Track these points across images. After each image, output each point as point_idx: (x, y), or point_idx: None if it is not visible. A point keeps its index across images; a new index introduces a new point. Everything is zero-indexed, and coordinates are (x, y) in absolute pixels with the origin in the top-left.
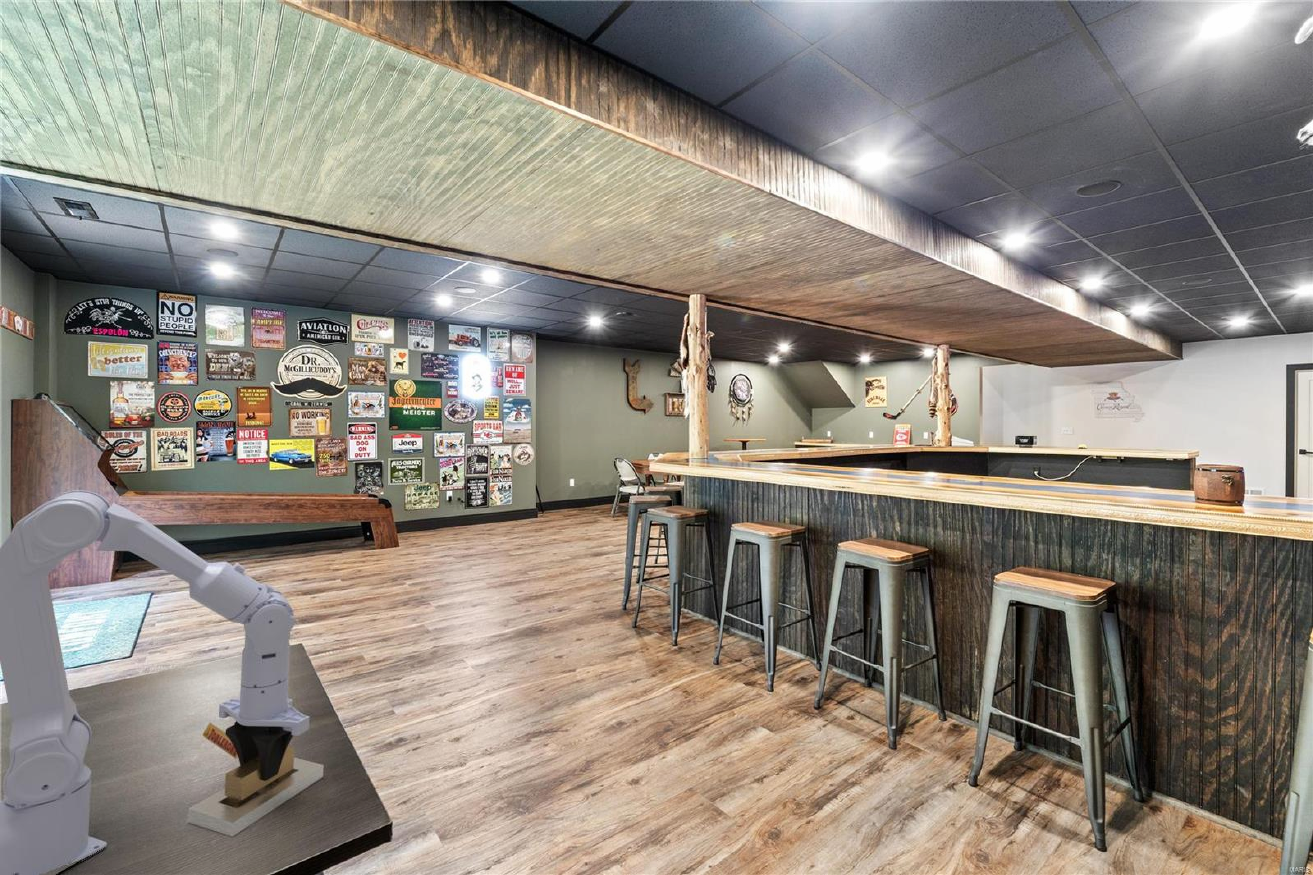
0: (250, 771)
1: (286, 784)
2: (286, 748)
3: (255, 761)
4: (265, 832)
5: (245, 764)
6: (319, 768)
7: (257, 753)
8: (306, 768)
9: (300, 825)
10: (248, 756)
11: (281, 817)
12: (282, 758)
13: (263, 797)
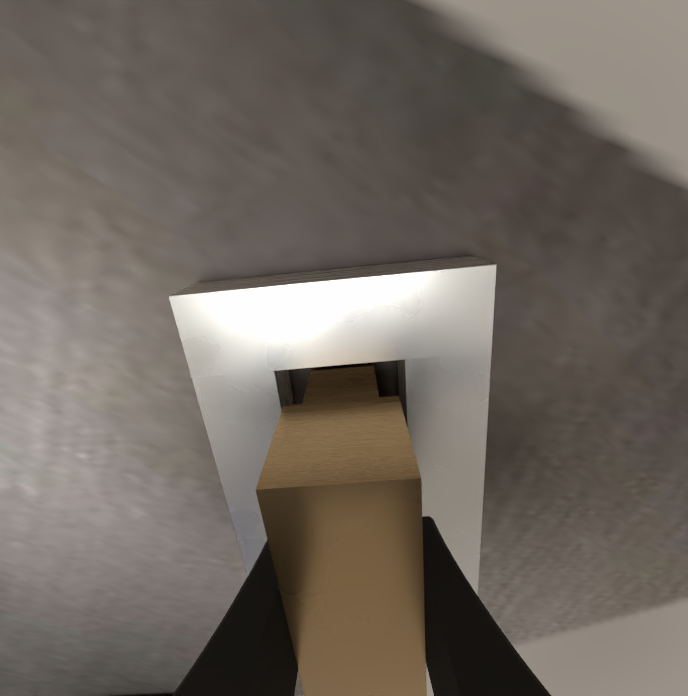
0: (407, 689)
1: (457, 459)
2: (523, 662)
3: (332, 640)
4: (538, 549)
5: (316, 672)
6: (494, 294)
7: (279, 631)
8: (429, 332)
9: (626, 494)
10: (286, 686)
11: (527, 494)
12: (469, 586)
13: (444, 539)
